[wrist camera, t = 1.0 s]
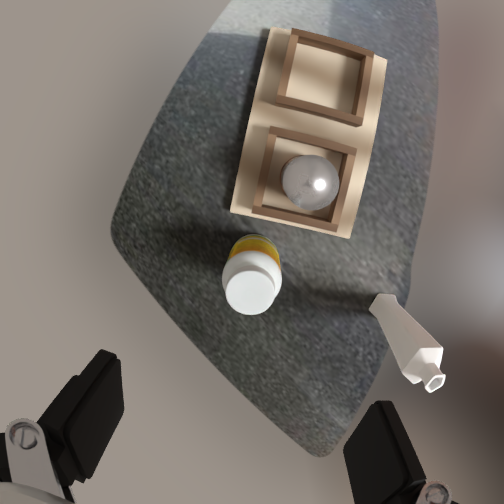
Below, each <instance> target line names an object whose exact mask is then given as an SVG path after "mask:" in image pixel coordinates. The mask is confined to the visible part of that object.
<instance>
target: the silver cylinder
mask: <svg viewBox="0 0 504 504" xmlns="http://www.w3.org/2000/svg"><path fill="white" fill-rule="evenodd" d="M280 185H281V187H282V189H283V191H284V192H285V194H286V195H287V196H288V198H289V199H290V201H291V202H292V203H293V204H295V205H296V206H298V207H299V208H302V209H305V210H319V209H322V208H324V207H326V206H328V205H329V204H330V203H331V202H332V201H333V200H334V198H335V197H336V195H337V193H338V189H339V177H338V173H337V171H336V169H335V167H334V166H333V165H332V163H331V162H329V161H328V160H327V159H325V158H323V157H321V156H318V155H300V156H295V157H293V158H291V159H289V160H288V161H287V162H286V163H285V164H284V165H283V167H282V169H281V171H280Z"/></svg>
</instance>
